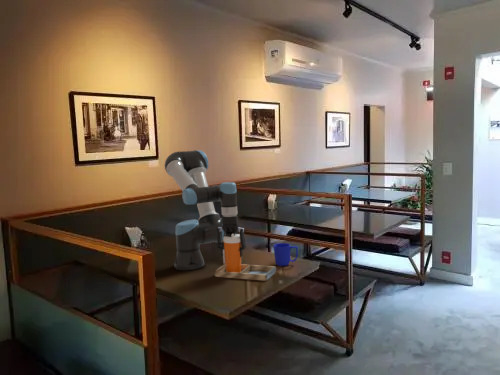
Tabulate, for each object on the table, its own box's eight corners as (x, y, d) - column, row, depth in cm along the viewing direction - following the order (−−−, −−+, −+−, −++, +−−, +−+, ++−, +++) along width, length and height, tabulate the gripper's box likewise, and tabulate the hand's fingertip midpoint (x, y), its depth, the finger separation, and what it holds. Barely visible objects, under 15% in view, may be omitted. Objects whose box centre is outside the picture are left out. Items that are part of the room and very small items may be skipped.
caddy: (214, 276, 194) (213, 271, 194) (226, 268, 207) (226, 263, 206) (266, 280, 184) (266, 275, 184) (276, 271, 197) (275, 266, 196)
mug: (297, 267, 202) (296, 247, 201) (273, 267, 204) (272, 247, 203) (299, 262, 210) (298, 243, 209) (275, 262, 212) (274, 243, 211)
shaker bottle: (246, 271, 200) (245, 230, 197) (237, 277, 192) (236, 234, 189) (229, 269, 204) (228, 229, 201) (220, 274, 196) (219, 233, 193)
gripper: (207, 216, 195) (210, 263, 198) (245, 217, 188) (248, 266, 190) (214, 213, 202) (217, 259, 204) (251, 214, 195) (254, 262, 197)
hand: (232, 262), depth 197 cm, fingers open, 6 cm apart
